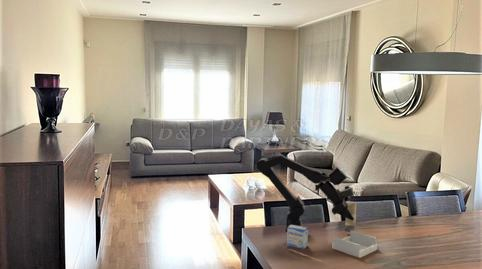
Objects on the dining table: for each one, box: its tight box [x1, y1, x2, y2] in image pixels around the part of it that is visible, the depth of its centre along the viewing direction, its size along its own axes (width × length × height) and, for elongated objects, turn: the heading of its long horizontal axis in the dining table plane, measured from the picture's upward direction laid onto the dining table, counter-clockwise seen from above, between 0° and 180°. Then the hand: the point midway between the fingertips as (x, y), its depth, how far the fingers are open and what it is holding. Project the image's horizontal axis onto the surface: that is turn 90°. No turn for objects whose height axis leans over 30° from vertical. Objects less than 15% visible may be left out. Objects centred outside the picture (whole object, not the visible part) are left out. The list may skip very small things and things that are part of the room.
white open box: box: [331, 230, 378, 259], centre depth 172 cm, size 13×13×6 cm
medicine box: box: [286, 225, 309, 249], centre depth 175 cm, size 8×4×9 cm, turn 62°
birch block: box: [344, 201, 357, 233], centre depth 189 cm, size 4×4×13 cm
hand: (353, 218), depth 189 cm, fingers closed on birch block, 4 cm apart
